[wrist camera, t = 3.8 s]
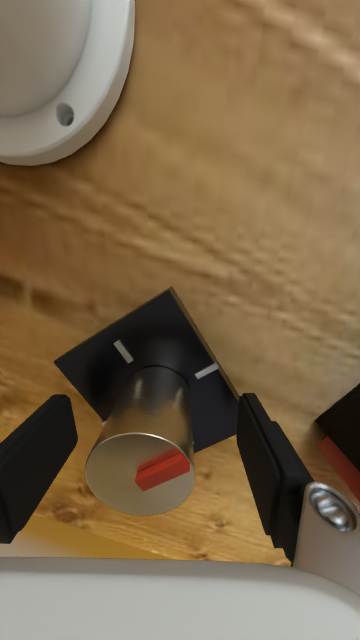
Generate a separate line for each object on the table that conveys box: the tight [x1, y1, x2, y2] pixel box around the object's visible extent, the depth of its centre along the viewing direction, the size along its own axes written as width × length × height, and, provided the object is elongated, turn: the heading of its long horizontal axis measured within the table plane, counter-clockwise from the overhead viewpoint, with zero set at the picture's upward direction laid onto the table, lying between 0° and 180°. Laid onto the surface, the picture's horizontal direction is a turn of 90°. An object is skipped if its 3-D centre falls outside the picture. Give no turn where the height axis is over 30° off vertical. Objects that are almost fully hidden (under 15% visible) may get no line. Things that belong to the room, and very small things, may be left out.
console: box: [54, 287, 239, 453], centre depth 12 cm, size 10×8×3 cm
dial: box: [85, 367, 195, 516], centre depth 9 cm, size 4×4×5 cm
